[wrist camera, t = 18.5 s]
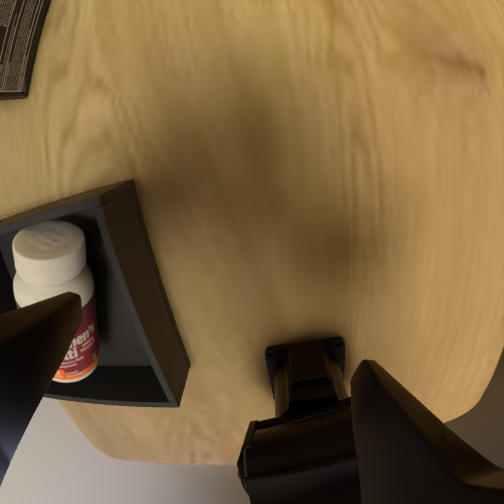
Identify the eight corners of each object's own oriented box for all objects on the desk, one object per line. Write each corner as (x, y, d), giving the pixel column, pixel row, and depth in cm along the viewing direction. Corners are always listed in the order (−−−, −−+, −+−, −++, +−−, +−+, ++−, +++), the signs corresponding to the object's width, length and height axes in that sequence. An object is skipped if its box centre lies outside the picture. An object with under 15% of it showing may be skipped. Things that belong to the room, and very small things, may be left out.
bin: (190, 364, 26) (179, 407, 21) (54, 364, 28) (33, 395, 23) (133, 178, 20) (98, 195, 15) (-8, 223, 22) (-44, 243, 17)
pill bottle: (55, 397, 18) (19, 279, 13) (23, 346, 21) (-5, 230, 15) (115, 364, 23) (110, 247, 18) (78, 320, 26) (69, 209, 20)
